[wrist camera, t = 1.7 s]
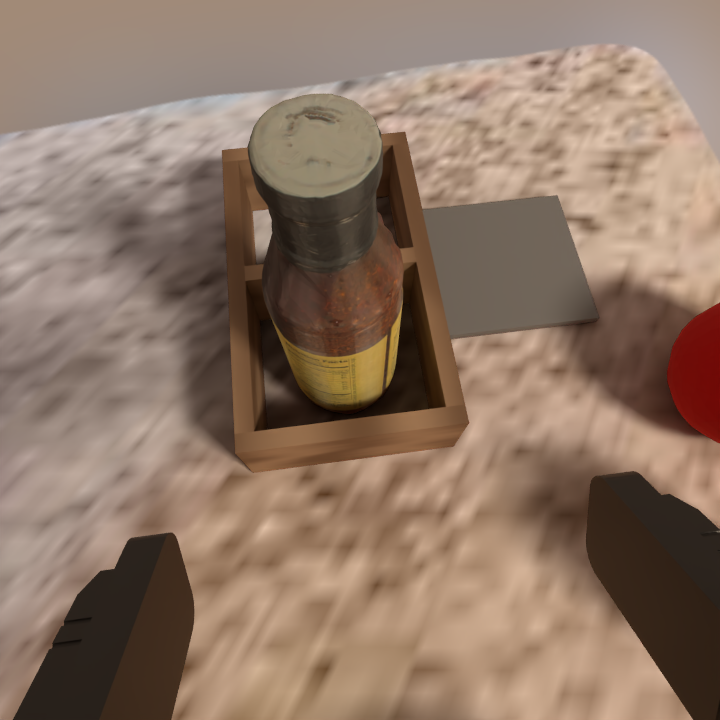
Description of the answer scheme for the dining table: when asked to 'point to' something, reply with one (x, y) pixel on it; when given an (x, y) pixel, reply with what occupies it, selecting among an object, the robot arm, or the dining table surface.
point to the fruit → (698, 373)
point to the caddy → (249, 308)
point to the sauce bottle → (328, 249)
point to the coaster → (507, 267)
